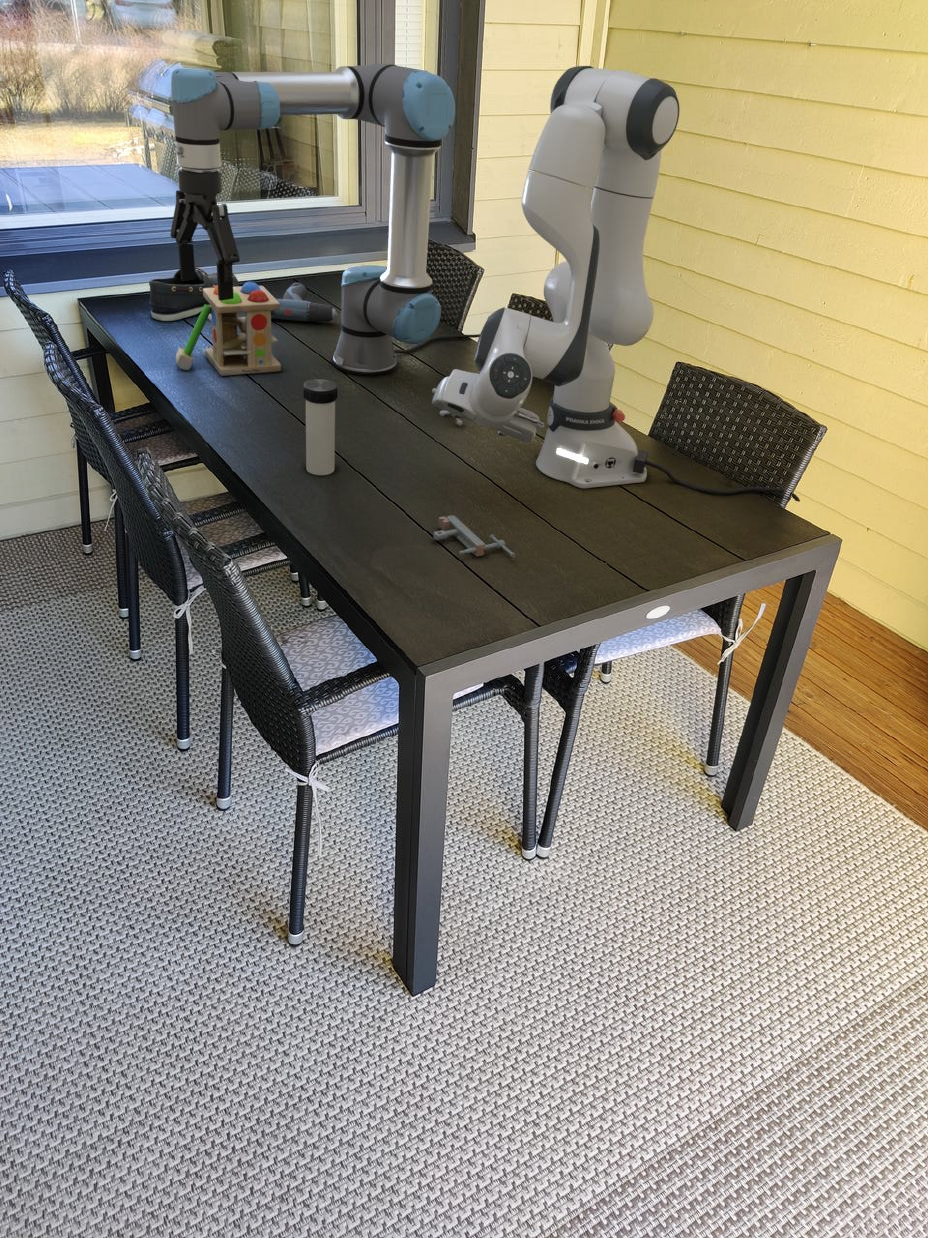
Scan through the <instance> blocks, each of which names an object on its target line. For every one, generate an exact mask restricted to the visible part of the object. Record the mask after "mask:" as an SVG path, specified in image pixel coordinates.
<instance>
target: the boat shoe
mask: <svg viewBox="0 0 928 1238" xmlns="http://www.w3.org/2000/svg"><path fill="white" fill-rule="evenodd" d="M195 278H196V280H189V281H181V273H180V268H179V269H178V270H177V271H176V272H175V273H174V274H173V277H172V276H171V277H167V278H166V277H165V278H152V279H150V280H149V281H148V285H149V291H150V292H149V302H148V306H151V309H150V313H151V317H152V318H153V319H155V320H157V321H162V322H171V321H172V322H173V321H178V320H182V319H184V318H188V317H192V316H196V315H197V314H200V313H201V311H202V309H203V307H204V305H208V306H210V307H211V305H210V304H209V302H208V301H207V300H206V299H205V297H204V296H203V289H204V288H215V287H216V286H217V285H218V280H217V272H213V273H210V274H208V273H207V272H206V271H205V270H204V269H202V268H199V267H195ZM233 287H240V285H239V280H238V278H237V277H236V275H235V274H234V273H233Z"/></svg>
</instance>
